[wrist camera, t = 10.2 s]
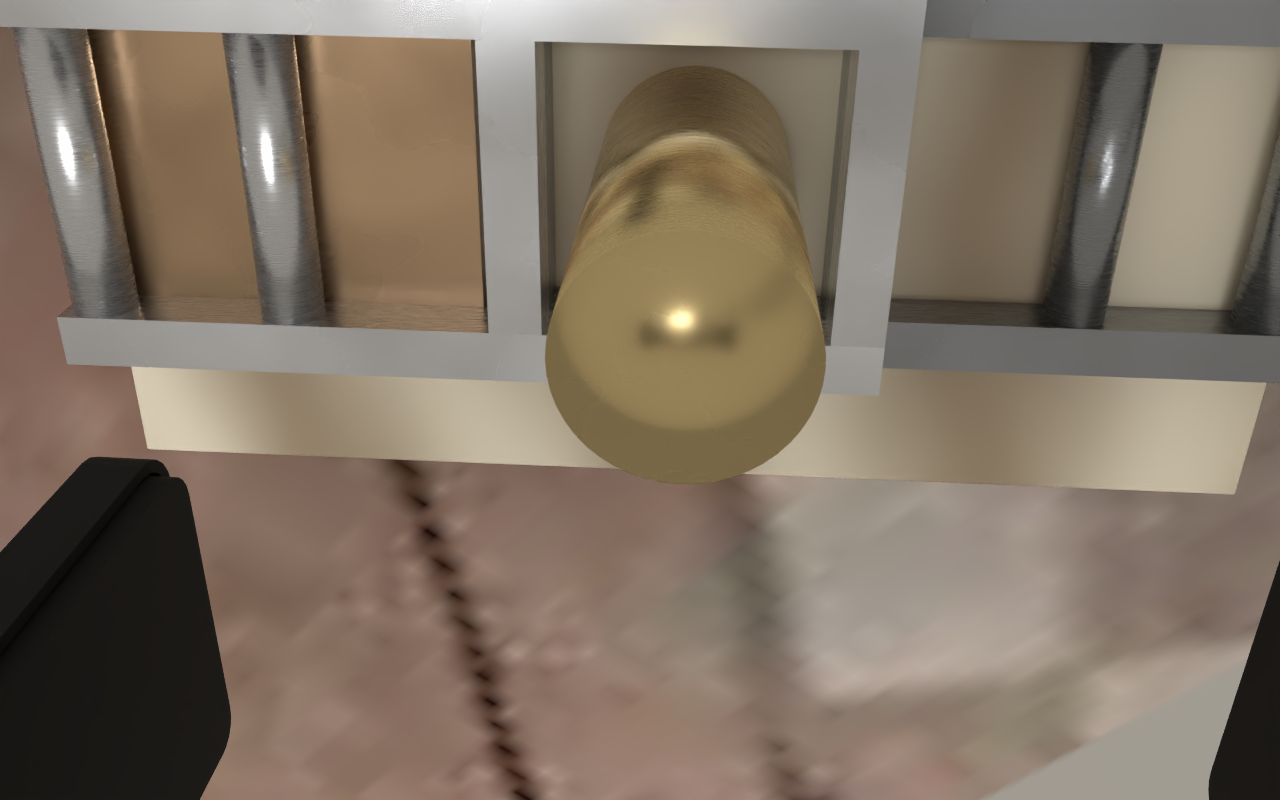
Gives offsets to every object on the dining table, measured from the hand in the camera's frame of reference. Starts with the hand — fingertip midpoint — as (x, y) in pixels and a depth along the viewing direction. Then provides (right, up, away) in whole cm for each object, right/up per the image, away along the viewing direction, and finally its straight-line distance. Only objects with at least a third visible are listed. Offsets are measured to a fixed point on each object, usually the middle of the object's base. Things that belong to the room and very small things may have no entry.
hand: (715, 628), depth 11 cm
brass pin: (0, +7, +13) cm, 15 cm away
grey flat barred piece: (-4, +7, +13) cm, 15 cm away
